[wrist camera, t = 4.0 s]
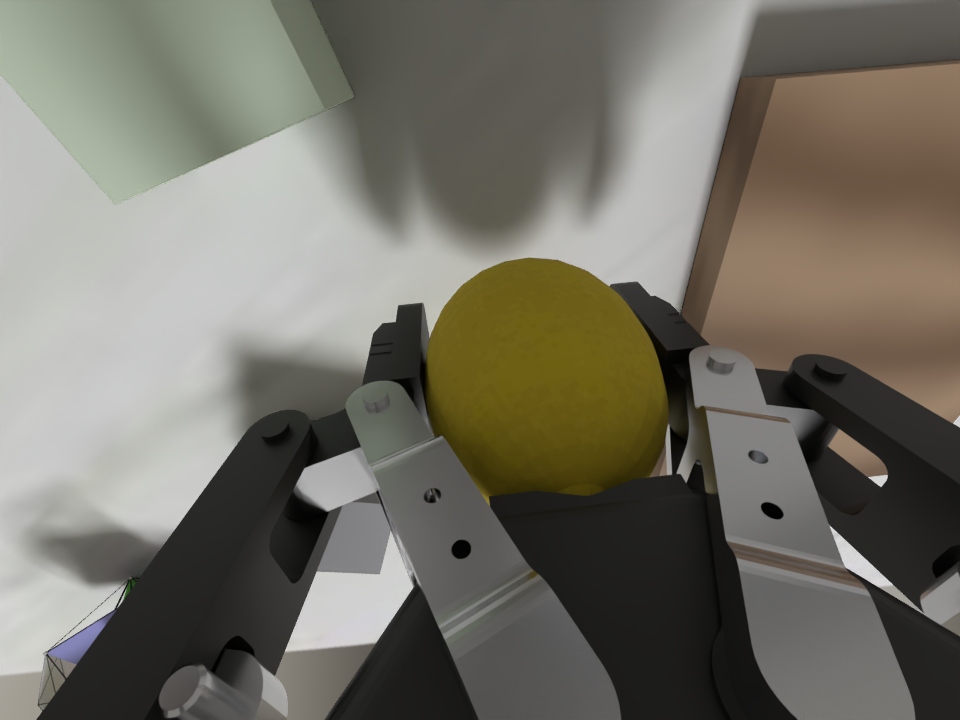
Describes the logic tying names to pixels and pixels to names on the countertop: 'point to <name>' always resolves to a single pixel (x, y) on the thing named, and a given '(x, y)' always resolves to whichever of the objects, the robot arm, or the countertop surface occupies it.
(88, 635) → the geometric puzzle
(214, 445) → the countertop surface
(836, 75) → the walnut board
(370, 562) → the gray block
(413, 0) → the countertop surface
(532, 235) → the countertop surface
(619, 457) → the lemon
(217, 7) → the sage block
